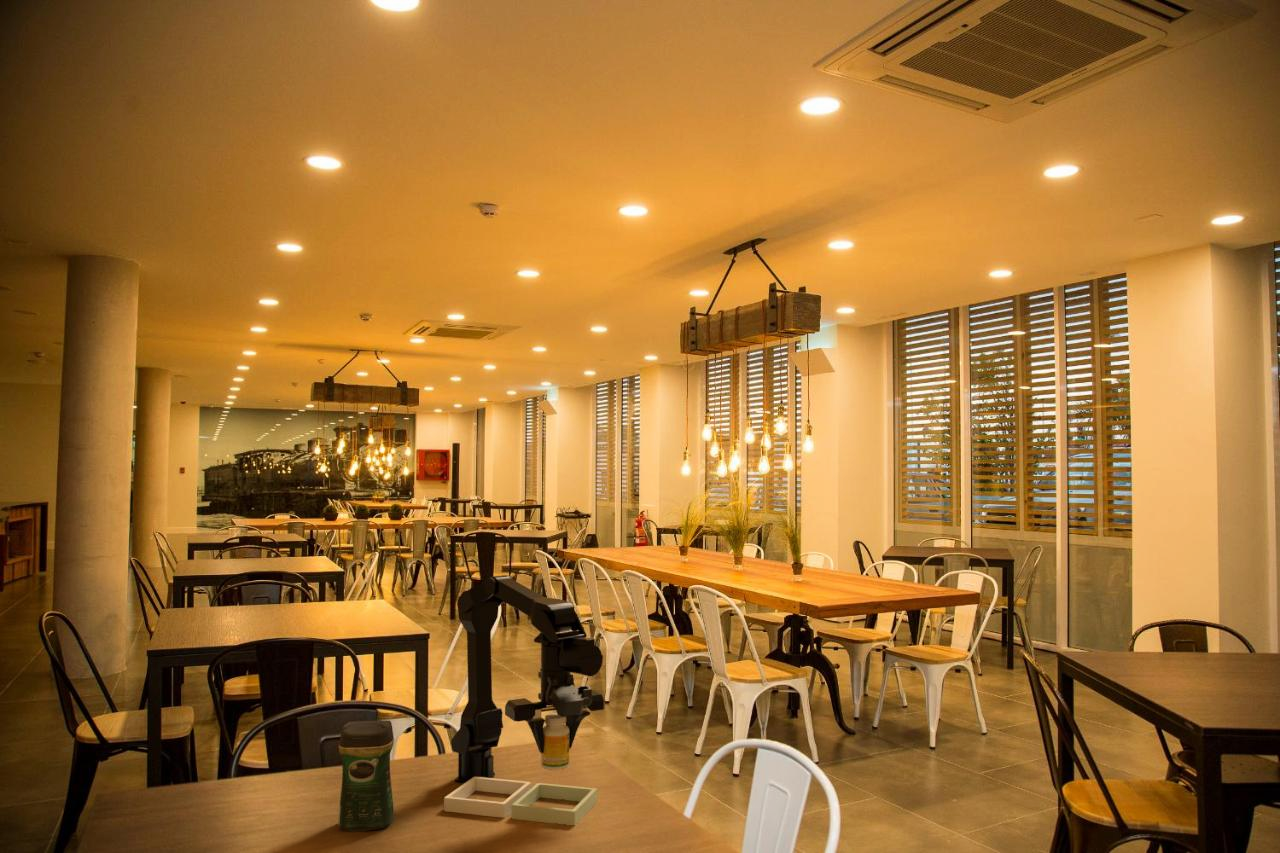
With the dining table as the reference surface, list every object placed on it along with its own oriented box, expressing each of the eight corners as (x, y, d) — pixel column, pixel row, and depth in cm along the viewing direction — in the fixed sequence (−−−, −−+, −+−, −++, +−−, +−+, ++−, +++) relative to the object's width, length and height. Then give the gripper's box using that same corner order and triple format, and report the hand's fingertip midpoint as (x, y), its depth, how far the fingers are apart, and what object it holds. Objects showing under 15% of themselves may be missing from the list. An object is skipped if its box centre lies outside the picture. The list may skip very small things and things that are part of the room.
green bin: (511, 818, 166) (511, 804, 167) (537, 795, 178) (537, 782, 179) (575, 825, 163) (575, 811, 163) (597, 801, 175) (597, 788, 175)
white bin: (444, 811, 170) (444, 797, 170) (474, 789, 182) (474, 776, 182) (504, 817, 167) (504, 804, 167) (531, 794, 179) (531, 782, 179)
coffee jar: (396, 815, 168) (398, 715, 169) (388, 831, 160) (389, 726, 161) (344, 817, 167) (345, 716, 169) (333, 833, 160) (335, 728, 161)
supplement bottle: (538, 763, 173) (538, 713, 173) (565, 760, 175) (565, 710, 175) (545, 772, 168) (545, 720, 168) (572, 769, 170) (572, 717, 170)
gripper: (525, 682, 161) (525, 770, 160) (617, 671, 170) (617, 754, 169) (504, 670, 170) (503, 753, 170) (592, 660, 179) (592, 739, 179)
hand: (555, 750), depth 171 cm, fingers closed on supplement bottle, 5 cm apart
